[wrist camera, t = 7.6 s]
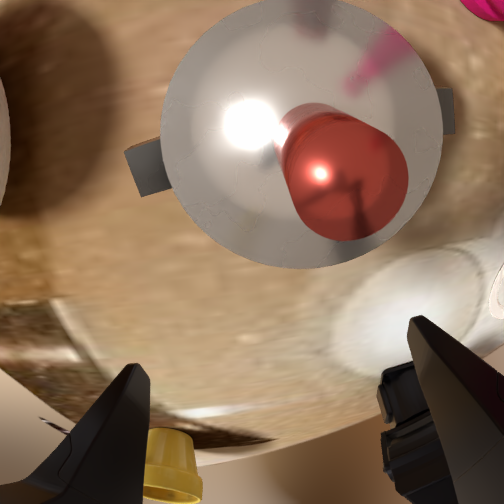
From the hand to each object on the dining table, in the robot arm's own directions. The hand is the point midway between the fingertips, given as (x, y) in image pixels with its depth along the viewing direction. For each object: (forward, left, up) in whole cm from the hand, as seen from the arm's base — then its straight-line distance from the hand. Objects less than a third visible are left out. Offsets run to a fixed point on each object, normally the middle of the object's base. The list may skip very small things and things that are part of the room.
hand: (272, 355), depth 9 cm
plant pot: (+20, +31, -13) cm, 39 cm away
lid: (-3, -5, -7) cm, 9 cm away
